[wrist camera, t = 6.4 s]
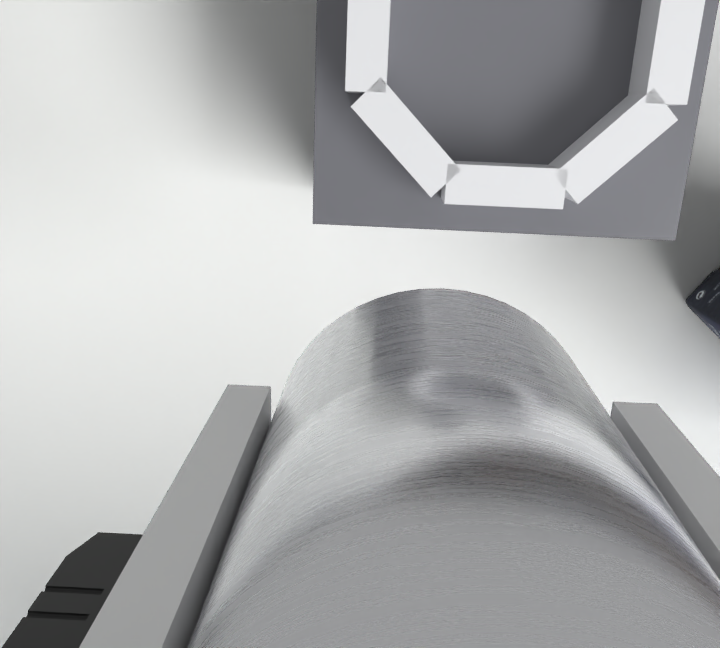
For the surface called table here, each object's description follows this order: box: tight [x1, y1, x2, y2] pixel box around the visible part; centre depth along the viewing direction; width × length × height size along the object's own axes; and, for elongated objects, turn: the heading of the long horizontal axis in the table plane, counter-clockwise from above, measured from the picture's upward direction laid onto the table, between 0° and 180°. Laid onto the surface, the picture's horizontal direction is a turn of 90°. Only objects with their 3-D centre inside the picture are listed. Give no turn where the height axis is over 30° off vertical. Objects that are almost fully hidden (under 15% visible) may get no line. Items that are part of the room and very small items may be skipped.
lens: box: [188, 289, 720, 648], centre depth 8 cm, size 6×6×10 cm
